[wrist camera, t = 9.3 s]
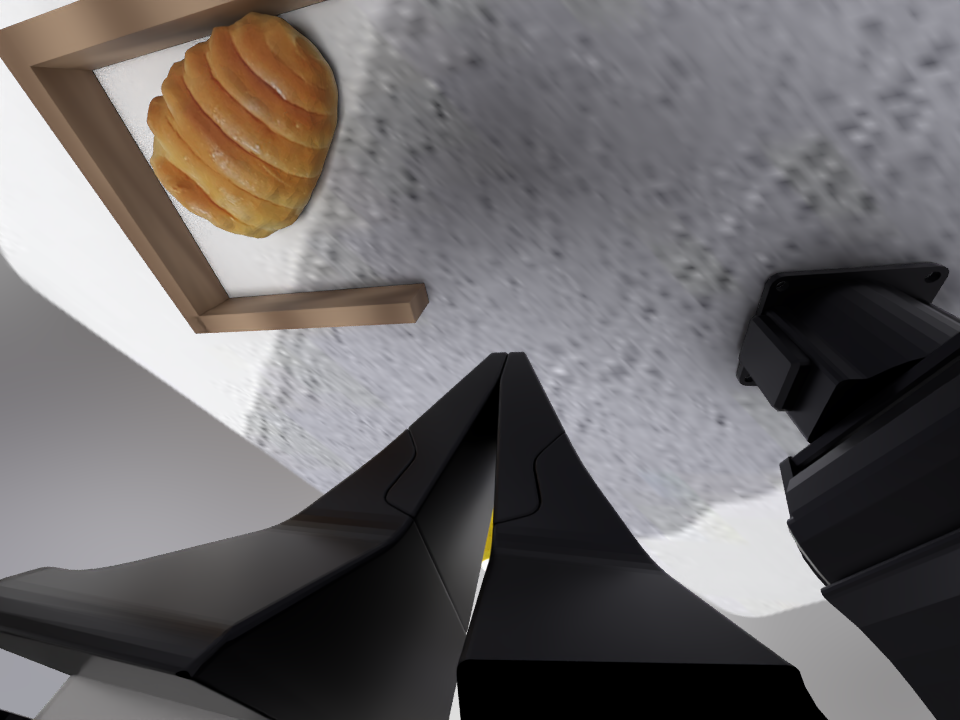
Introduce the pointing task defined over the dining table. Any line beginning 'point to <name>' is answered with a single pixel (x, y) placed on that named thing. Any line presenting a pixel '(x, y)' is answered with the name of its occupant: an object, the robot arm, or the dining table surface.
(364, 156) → the dining table surface
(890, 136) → the dining table surface
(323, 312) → the frame
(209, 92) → the pastry
